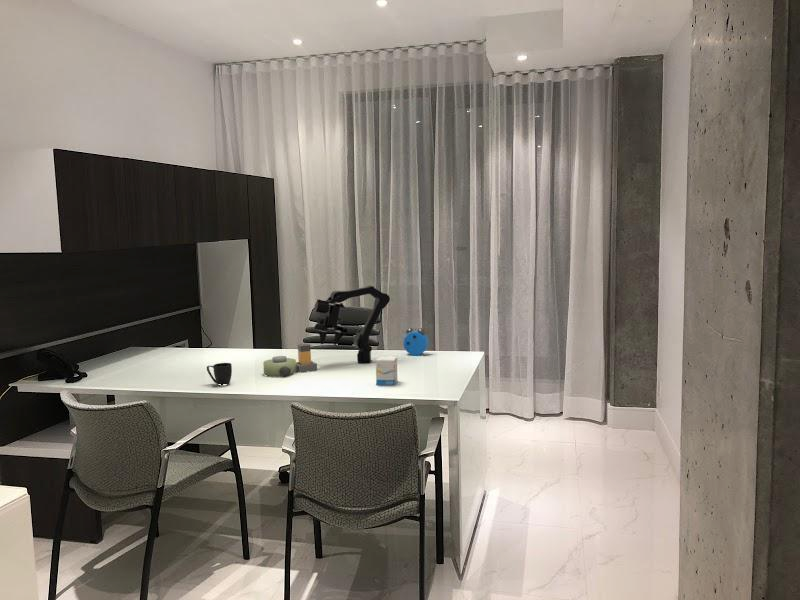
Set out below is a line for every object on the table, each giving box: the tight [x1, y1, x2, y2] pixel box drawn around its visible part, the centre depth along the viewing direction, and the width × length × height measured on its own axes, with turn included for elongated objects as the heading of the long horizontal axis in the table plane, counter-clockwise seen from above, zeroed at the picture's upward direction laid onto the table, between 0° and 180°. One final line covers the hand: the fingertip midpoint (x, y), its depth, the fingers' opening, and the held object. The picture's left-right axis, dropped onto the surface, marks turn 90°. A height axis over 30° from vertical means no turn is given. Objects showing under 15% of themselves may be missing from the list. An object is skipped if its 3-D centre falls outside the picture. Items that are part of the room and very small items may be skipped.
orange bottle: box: [297, 343, 312, 365], centre depth 330 cm, size 5×5×13 cm
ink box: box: [375, 355, 398, 386], centre depth 297 cm, size 9×8×12 cm
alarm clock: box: [402, 327, 429, 356], centre depth 360 cm, size 13×6×15 cm, turn 74°
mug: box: [206, 362, 233, 385], centre depth 305 cm, size 8×12×10 cm
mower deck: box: [262, 355, 318, 378], centre depth 327 cm, size 26×20×8 cm
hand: (328, 344), depth 337 cm, fingers open, 9 cm apart
